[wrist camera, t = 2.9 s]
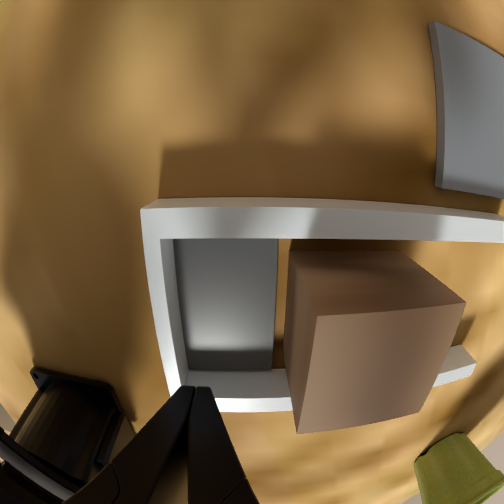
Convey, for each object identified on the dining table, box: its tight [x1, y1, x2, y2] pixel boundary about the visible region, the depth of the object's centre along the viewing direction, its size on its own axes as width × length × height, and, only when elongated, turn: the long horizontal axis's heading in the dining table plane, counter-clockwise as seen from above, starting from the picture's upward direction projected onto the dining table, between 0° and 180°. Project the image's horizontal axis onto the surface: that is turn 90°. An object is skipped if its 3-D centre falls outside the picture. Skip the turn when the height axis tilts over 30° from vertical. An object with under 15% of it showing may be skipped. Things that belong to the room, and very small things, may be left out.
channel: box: [140, 197, 504, 412], centre depth 11 cm, size 17×9×2 cm, turn 90°
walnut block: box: [282, 251, 466, 434], centre depth 10 cm, size 5×5×5 cm
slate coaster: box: [428, 21, 504, 199], centre depth 9 cm, size 8×8×1 cm
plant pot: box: [414, 433, 504, 504], centre depth 15 cm, size 9×9×9 cm
